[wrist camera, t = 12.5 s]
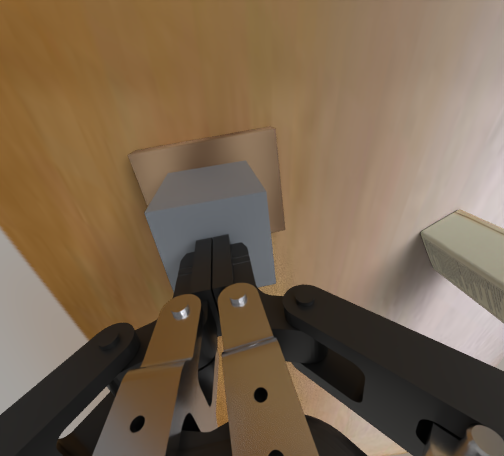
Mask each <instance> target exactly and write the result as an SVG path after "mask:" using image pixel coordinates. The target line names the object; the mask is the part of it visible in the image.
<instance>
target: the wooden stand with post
mask: <svg viewBox="0 0 504 456" xmlns="http://www.w3.org/2000/svg"><path fill="white" fill-rule="evenodd" d="M128 157H129V160H130V162H131V165H132V167H133V170H134V173H135V175H136V178H137V180H138V183H139V186H140V188H141V191H142V193H143V196H144V198H145V201H146V204H147V206H149V204H150V202H151V201H152V199H153V197H154V196H155V194H156V192H157V191H158V189H159V187H160V186H161V184H162V182H163V180H164V179H165V177H166V175H167V174H168V173H172V172H178V171H184V170H190V169H197V168H203V167H209V166H215V165H221V164H227V163H233V162H239V161H245V160H246V161H247V163H248V164H249V166H250V167H251V169H252V170H253V172H254V173H255V175H256V176H257V178H258V179H259V181H260V182H261V184H262V185H263V187H264V188H265V190H266V193H267V202H268V212H269V221H270V231H271V233H273V232H278V231H283V230H285V222H284V211H283V201H282V191H281V181H280V170H279V160H278V150H277V139H276V129H275V128H273V127H271V126H270V127H264V128H259V129H253V130H247V131H242V132H236V133H231V134H225V135H220V136H214V137H208V138H203V139H197V140H192V141H186V142H181V143H175V144H169V145H164V146H158V147H153V148H147V149H141V150H136V151H133V152H132V153H130V154H129V155H128Z"/></svg>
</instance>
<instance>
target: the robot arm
mask: <svg viewBox="0 0 504 456" xmlns="http://www.w3.org/2000/svg"><path fill="white" fill-rule="evenodd" d="M218 336H222V341H223V349H224V352H222V366H223V375H224V384H225V393H226V402H227V411H228V420H229V422H227V423H225V424H224V425H222V426H220V427H218V428H217V421H216V398H217V381H218V364H219V353H218V350H217V337H218ZM285 361H288V362H292V364H293V365H294V367H295V368H296V369H298V370H299V371H300V372H302V373H303V374H304V375H306V376H307V377H308V378H310V379H311V380H312V381H314V382H315V383H316V384H318V385H319V386H320V387H322V388H323V389H324V390H326V391H327V392H328V393H330V394H331V395H332V396H334V397H335V398H336V399H338V400H339V401H340V402H342V403H343V404H344V405H346V406H347V407H348V408H350V409H351V410H353V411H354V412H355V413H357V414H358V415H359V416H361V417H362V418H363V419H365V420H366V421H367V422H369V423H370V424H371V425H373V426H374V427H375V428H377V429H378V430H379V431H381V432H382V433H383V434H385V435H386V436H387V437H389V438H390V439H391V440H393V441H394V442H395V443H397V444H398V445H399V446H401V447H402V448H403V449H405V450H406V451H407V452H409V453H410V454H412V455H413V456H504V371H502V370H499V369H497V368H495V367H493V366H491V365H488V364H486V363H484V362H482V361H480V360H477V359H475V358H473V357H471V356H468V355H466V354H464V353H462V352H460V351H457V350H455V349H453V348H451V347H448V346H446V345H444V344H442V343H440V342H437V341H435V340H433V339H431V338H428V337H426V336H424V335H422V334H420V333H417V332H415V331H413V330H411V329H409V328H406V327H404V326H402V325H400V324H397V323H395V322H393V321H391V320H389V319H386V318H384V317H382V316H380V315H377V314H375V313H373V312H371V311H369V310H366V309H364V308H362V307H360V306H357V305H355V304H353V303H351V302H349V301H346V300H344V299H342V298H340V297H338V296H335V295H333V294H331V293H329V292H326V291H324V290H322V289H320V288H318V287H315V286H312V285H298V286H294V287H292V288H290V289H289V290H288V291H287V292H286V293H285V294H284V296H272V295H268V294H265V293H263V292H262V291H260V290H259V289H258V288H257V286H256V283H255V279H254V274H253V270H252V265H251V261H250V257H249V252H248V248H247V247H246V246H245V245H244V244H243V243H242V242H240V243H235V244H231V242H230V238H229V234H226V235H221V236H216V237H213V238H212V237H211V238H206V239H201V240H196V244H195V252H191V253H186V255H185V256H184V257H183V258H182V260H181V261H180V266H179V271H178V277H177V280H176V285H175V290H174V295H173V299H171V300H170V301H168V302H167V303H166V304H165V305H164V306H163V308H162V309H161V311H160V314H159V317H158V319H157V320H156V321H154V322H152V323H150V324H148V325H146V326H143V327H141V328H139V329H137V330H134V328H133V326H132V325H130V324H128V323H117V324H114V325H111V326H109V327H107V328H105V329H104V330H102V331H101V332H99V333H98V334H97V335H96V336H94V337H93V338H92V339H91V340H90V341H88V342H87V343H86V344H85V345H84V346H82V347H81V348H80V349H79V350H78V351H76V352H75V353H74V354H73V355H72V356H71V357H69V358H68V359H67V360H66V361H64V362H63V363H62V364H61V365H60V366H58V367H57V368H56V369H55V370H54V371H53V372H51V373H50V374H49V375H48V376H46V377H45V378H44V379H43V380H42V381H41V382H39V383H38V384H37V385H36V386H35V387H33V388H32V389H31V390H30V391H29V392H27V393H26V394H25V395H24V396H23V397H21V398H20V399H19V400H18V401H17V402H15V403H14V404H13V405H12V406H11V407H9V408H8V409H7V410H6V411H5V412H3V413H2V414H1V415H0V456H367V455H366V454H365V453H364V452H363V451H362V450H360V449H359V448H358V447H357V446H356V445H355V444H354V443H352V442H351V441H350V440H349V439H348V438H347V437H346V436H344V435H343V434H342V433H341V432H339V431H338V430H337V429H335V428H334V427H332V426H331V425H329V424H327V423H325V422H323V421H322V420H320V419H317V418H314V417H312V416H308V415H304V412H303V410H302V407H301V404H300V401H299V398H298V396H297V393H296V390H295V387H294V384H293V382H292V379H291V376H290V373H289V370H288V368H287V365H286V362H285ZM106 386H107V387H108V389H109V390H110V393H109V394H108V395H107V396H106V397H105V398H104V399H103V400H102V401H101V402H100V403H99V404H98V405H97V406H96V407H95V408H94V409H93V410H92V412H91V413H90V414H89V415H88V416H87V417H86V418H85V419H84V420H83V421H82V422H81V423H80V424H79V425H78V426H77V427H76V428H75V429H74V431H73V432H72V433H70V434H69V435H67V436H66V437H64V438H61V439H58V438H59V436H60V435H61V433H62V432H63V431H64V429H65V428H66V427H67V426H68V425H69V424H70V423H71V422H72V421H73V420H74V419H75V418H76V417H77V416H78V415H79V414H80V413H81V412H82V411H83V410H84V408H86V407H87V406H88V405H89V404H90V403H91V402H92V401H93V400H94V399H95V398H96V397H97V395H98V394H99V393H100V392H101V391H102V390H103V389H104V388H105V387H106Z"/></svg>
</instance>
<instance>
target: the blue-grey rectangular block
mask: <svg viewBox="0 0 504 456" xmlns="http://www.w3.org/2000/svg"><path fill="white" fill-rule="evenodd" d="M145 216H146V219H147V221H148V224H149V227H150V230H151V232H152V235H153V238H154V240H155V243H156V246H157V249H158V251H159V254H160V257H161V259H162V262H163V265H164V268H165V270H166V273H167V276H168V278H169V281H170V284H171V287H172V289H173V292H174V290H175V285H176V280H177V277H178V271H179V266H180V261H181V260H182V258H183V257H184V256H185V255H186V253H191V252H195V244H196V240H201V239H206V238H211V237H212V238H213V237H216V236H221V235H226V234H229V238H230V242H231V244H235V243H240V242H242V243H243V244H244V245H245V246H246V247H247V248H248V252H249V257H250V261H251V265H252V270H253V274H254V279H255V283H256V286H257V287H262V286H267V285H272V284H276V279H275V269H274V260H273V250H272V240H271V231H270V221H269V212H268V202H267V193H266V190H265V188H264V187H263V185H262V184H261V182H260V181H259V179H258V178H257V176H256V175H255V173H254V172H253V170H252V169H251V167H250V166H249V164H248V163H247V161H246V160H245V161H239V162H233V163H227V164H221V165H215V166H209V167H203V168H197V169H190V170H184V171H178V172H172V173H168V174H167V175H166V177H165V179H164V180H163V182H162V184H161V186H160V187H159V189H158V191H157V192H156V194H155V196H154V197H153V199H152V201H151V202H150V204H149V206H148V208H147V209H146V211H145Z"/></svg>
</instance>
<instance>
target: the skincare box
mask: <svg viewBox="0 0 504 456" xmlns="http://www.w3.org/2000/svg"><path fill="white" fill-rule="evenodd" d="M421 236H422V239H423V242H424V245H425V248H426V250H427V253H428V256H429V258H430V261H431V263H432V266H433V268H434V269H435V270H436V271H437V272H438V273H440V274H441V275H442V276H443V277H445V278H446V279H447V280H449V281H450V282H451V283H452V284H454V285H455V286H456V287H458V288H459V289H460V290H461V291H463V292H464V293H465V294H467V295H468V296H469V297H470V298H472V299H473V300H474V301H476V302H477V303H478V304H479V305H481V306H482V307H483V308H485V309H486V310H487V311H489V312H490V313H491V314H492V315H494V316H495V317H496V318H497V319H499V320H500V321H501V322H503V323H504V229H503V228H501V227H498V226H496V225H494V224H492V223H490V222H487V221H485V220H483V219H481V218H478V217H476V216H474V215H472V214H469V213H467V212H465V211H463V210H457V211H456V212H454V213H452V214H450V215H449V216H447V217H445V218H443V219H442V220H440V221H438V222H436V223H435V224H433V225H431V226H430V227H428V228H426V229H424V230H423V231H421Z"/></svg>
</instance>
